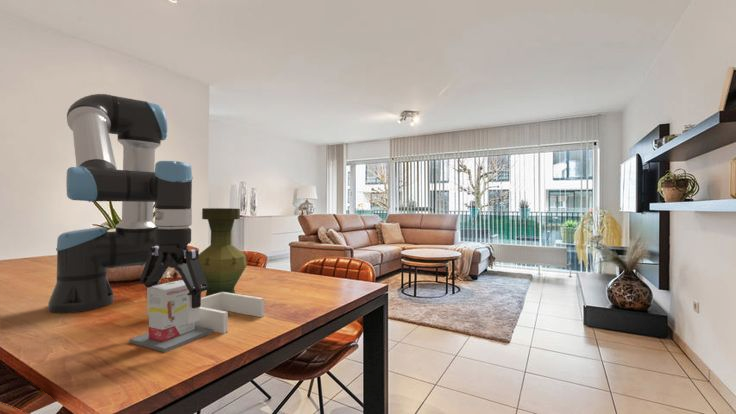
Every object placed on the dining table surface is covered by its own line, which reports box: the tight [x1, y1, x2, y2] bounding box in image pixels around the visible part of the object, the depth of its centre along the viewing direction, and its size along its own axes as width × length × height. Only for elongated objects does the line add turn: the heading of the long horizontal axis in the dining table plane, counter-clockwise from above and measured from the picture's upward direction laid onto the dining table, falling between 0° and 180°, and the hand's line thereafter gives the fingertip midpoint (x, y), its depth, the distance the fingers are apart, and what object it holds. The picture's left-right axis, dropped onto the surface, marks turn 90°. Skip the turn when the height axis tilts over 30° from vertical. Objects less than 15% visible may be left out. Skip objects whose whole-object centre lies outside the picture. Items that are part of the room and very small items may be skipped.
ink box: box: [148, 279, 195, 342], centre depth 78 cm, size 9×5×12 cm, turn 157°
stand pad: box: [129, 326, 213, 353], centre depth 79 cm, size 12×12×1 cm
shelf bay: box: [195, 292, 265, 334], centre depth 91 cm, size 16×14×5 cm
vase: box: [198, 207, 248, 297], centre depth 110 cm, size 16×16×30 cm
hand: (172, 317), depth 79 cm, fingers open, 13 cm apart
